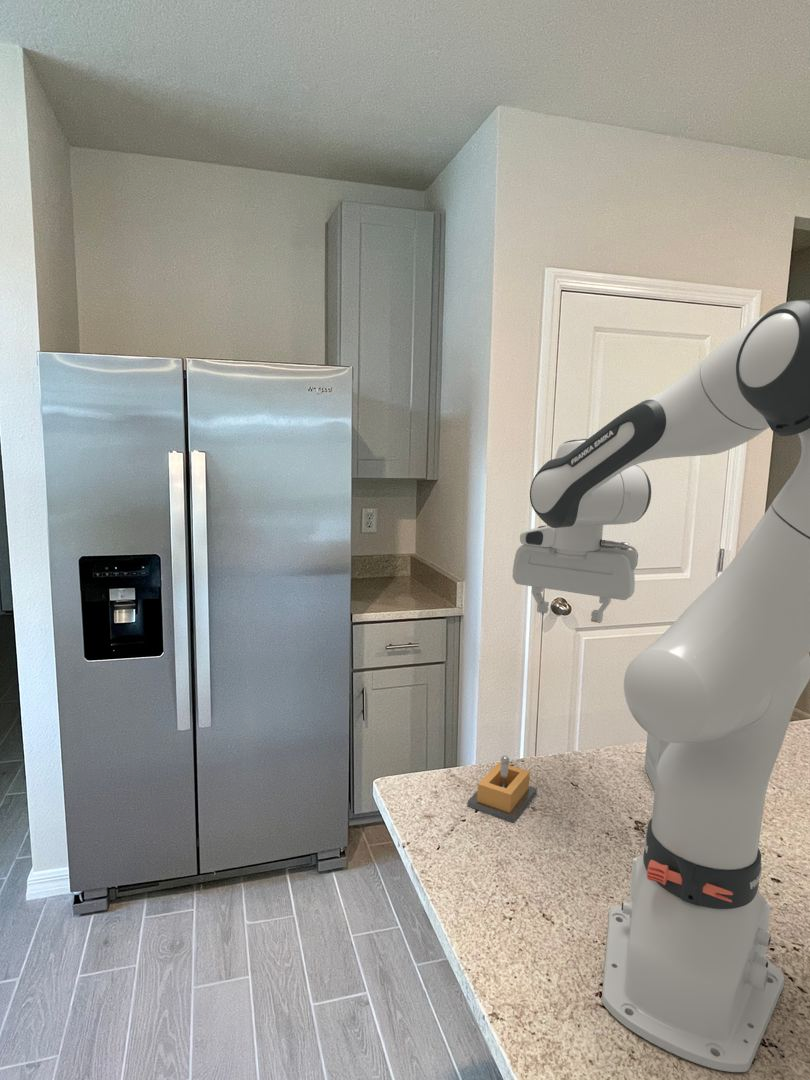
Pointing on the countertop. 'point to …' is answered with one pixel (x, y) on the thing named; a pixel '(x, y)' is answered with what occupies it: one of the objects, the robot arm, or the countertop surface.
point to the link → (501, 796)
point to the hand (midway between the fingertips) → (568, 616)
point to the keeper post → (521, 803)
